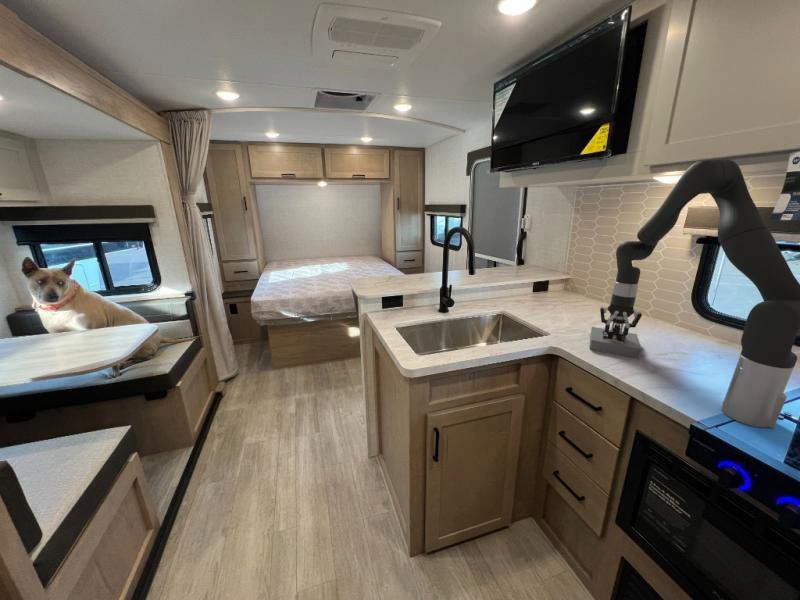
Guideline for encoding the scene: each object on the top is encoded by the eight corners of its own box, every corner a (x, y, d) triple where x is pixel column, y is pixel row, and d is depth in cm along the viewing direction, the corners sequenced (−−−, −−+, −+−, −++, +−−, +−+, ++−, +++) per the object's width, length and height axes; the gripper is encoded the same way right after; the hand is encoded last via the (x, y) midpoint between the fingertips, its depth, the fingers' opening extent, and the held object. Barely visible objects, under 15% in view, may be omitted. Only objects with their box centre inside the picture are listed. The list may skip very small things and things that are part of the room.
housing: (634, 343, 131) (636, 334, 130) (639, 358, 118) (641, 349, 116) (590, 335, 139) (591, 326, 137) (589, 349, 125) (591, 339, 124)
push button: (601, 338, 128) (606, 314, 125) (604, 334, 131) (609, 311, 128) (620, 343, 123) (626, 319, 120) (623, 339, 127) (629, 315, 124)
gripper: (602, 293, 122) (594, 334, 127) (648, 298, 115) (638, 341, 120) (602, 289, 128) (594, 328, 133) (646, 293, 121) (636, 334, 126)
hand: (615, 334), depth 126 cm, fingers closed on push button, 5 cm apart
